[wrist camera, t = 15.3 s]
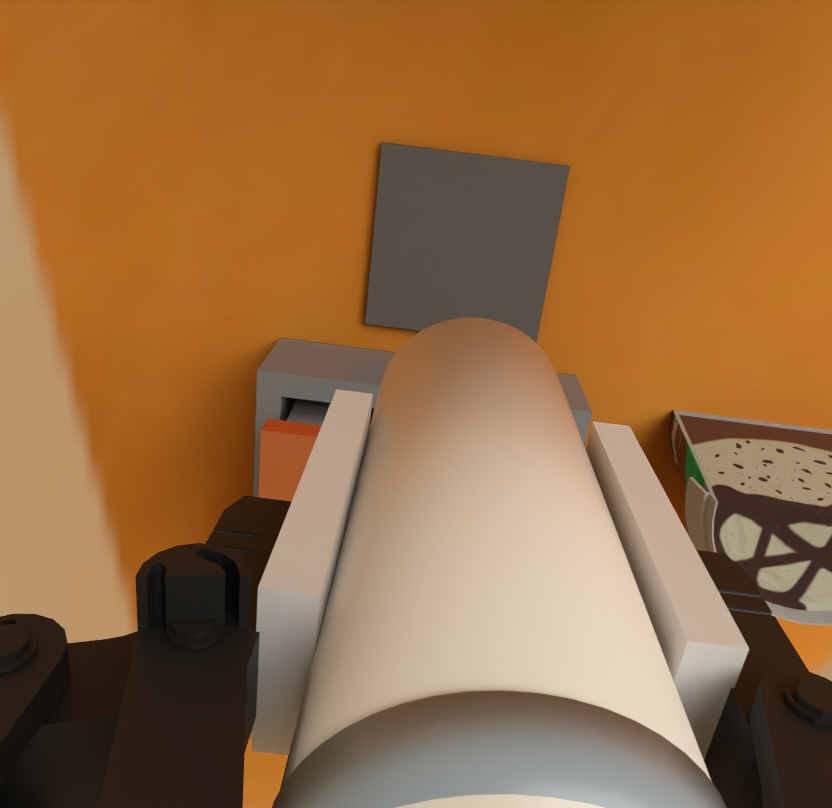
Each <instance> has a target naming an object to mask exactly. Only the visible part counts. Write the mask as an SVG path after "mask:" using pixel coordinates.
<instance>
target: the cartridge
mask: <svg viewBox="0 0 832 808" xmlns="http://www.w3.org/2000/svg"><path fill="white" fill-rule="evenodd" d="M272 808H727V807H726V805H725V803H724V801H723V799H722V797H721V795H720V793H719V791H718V790H717V789H716V787H715V786H714V785H713V783H712V781H711V778H710V776H709V773H708V770H707V768H706V765H705V762H704V760H703V757H702V755H701V752H700V749H699V747H698V744H697V741H696V739H695V736H694V733H693V731H692V728H691V726H690V723H689V720H688V718H687V715H686V712H685V710H684V707H683V705H682V702H681V699H680V697H679V694H678V691H677V689H676V686H675V683H674V681H673V678H672V676H671V673H670V670H669V668H668V665H667V662H666V660H665V657H664V655H663V652H662V649H661V647H660V644H659V641H658V639H657V636H656V633H655V631H654V628H653V626H652V623H651V620H650V618H649V615H648V612H647V610H646V607H645V604H644V602H643V599H642V597H641V594H640V591H639V589H638V586H637V583H636V581H635V578H634V576H633V573H632V570H631V568H630V565H629V562H628V560H627V557H626V554H625V552H624V549H623V547H622V544H621V541H620V539H619V536H618V533H617V531H616V528H615V526H614V523H613V520H612V518H611V515H610V512H609V510H608V507H607V504H606V502H605V499H604V497H603V494H602V491H601V489H600V486H599V483H598V481H597V478H596V475H595V473H594V470H593V468H592V465H591V462H590V460H589V457H588V454H587V452H586V449H585V447H584V444H583V441H582V439H581V436H580V433H579V431H578V428H577V425H576V423H575V420H574V418H573V415H572V412H571V410H570V407H569V404H568V402H567V399H566V396H565V394H564V391H563V389H562V386H561V383H560V381H559V378H558V375H557V373H556V371H555V369H554V366H553V364H552V362H551V361H550V359H549V358H548V356H547V355H546V353H545V352H544V351H543V350H542V349H541V347H540V346H539V345H538V344H537V343H536V342H535V341H533V340H532V339H531V338H530V337H529V336H527V335H526V334H524V333H523V332H521V331H520V330H518V329H516V328H514V327H512V326H510V325H508V324H505V323H502V322H499V321H495V320H490V319H485V318H472V317H469V318H457V319H452V320H446V321H443V322H440V323H437V324H434V325H432V326H430V327H428V328H426V329H424V330H422V331H420V332H419V333H417V334H416V335H414V336H413V337H411V338H410V339H409V340H408V341H407V342H406V343H404V344H403V345H402V347H401V348H400V349H399V350H398V351H397V352H396V353H395V355H394V356H393V358H392V359H391V361H390V362H389V364H388V366H387V368H386V370H385V372H384V375H383V378H382V381H381V384H380V388H379V392H378V396H377V400H376V404H375V409H374V413H373V417H372V421H371V425H370V429H369V435H368V439H367V443H366V447H365V451H364V455H363V460H362V464H361V468H360V472H359V476H358V480H357V484H356V488H355V492H354V496H353V500H352V504H351V508H350V512H349V517H348V521H347V525H346V529H345V533H344V537H343V541H342V545H341V549H340V553H339V557H338V561H337V565H336V569H335V574H334V578H333V582H332V586H331V590H330V594H329V598H328V602H327V606H326V610H325V614H324V618H323V622H322V626H321V630H320V635H319V639H318V643H317V647H316V651H315V654H314V657H313V660H312V663H311V667H310V671H309V675H308V679H307V683H306V687H305V691H304V695H303V699H302V703H301V707H300V712H299V716H298V720H297V724H296V728H295V732H294V736H293V740H292V744H291V748H290V752H289V756H288V760H287V764H286V768H285V772H284V776H283V780H282V784H281V788H280V792H279V793H278V795H277V797H276V799H275V800H274V803H273V806H272Z"/></svg>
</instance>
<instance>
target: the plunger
mask: <svg viewBox="0 0 832 808" xmlns="http://www.w3.org/2000/svg"><path fill="white" fill-rule="evenodd" d="M330 404H331V403H328V402H320V401H313V400H305V399H297V401H296V403H295V405H294V407H293V409H292V411H291V413H290V415H289V417H288V419H287V420H286V421H283V420H275V419H267V420H266V422H265V424H264V426H263V427H262V429H261V445H260V472H259V497H260V498H268V499H276V500H284V501H292V500H293V497H294V495H295V492H296V490H297V487H298V485H299V482H300V480H301V477H302V475H303V472H304V470H305V467H306V464H307V462H308V459H309V457H310V454H311V452H312V449H313V447H314V444H315V442H316V439H317V437H318V434H319V432H320V429H321V426H322V424H323V421H324V419H325V416H326V414H327V411H328V409H329V406H330Z"/></svg>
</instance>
